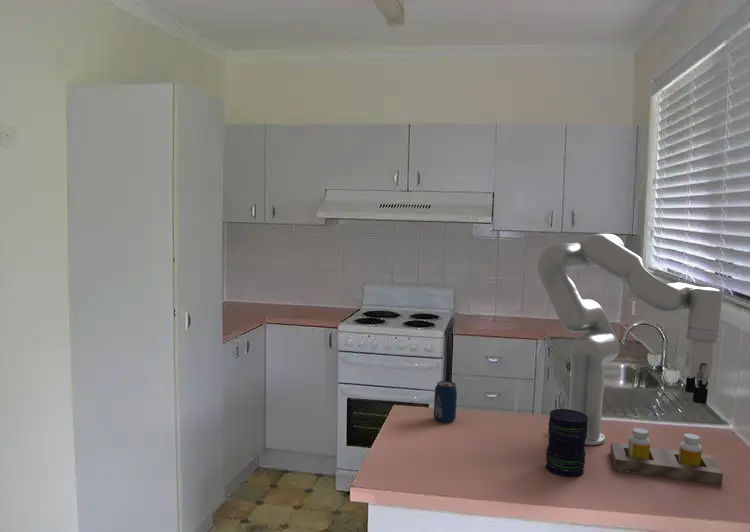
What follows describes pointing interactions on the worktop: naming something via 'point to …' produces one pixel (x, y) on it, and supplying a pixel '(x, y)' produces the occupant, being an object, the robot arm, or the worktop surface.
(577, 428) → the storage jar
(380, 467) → the worktop surface
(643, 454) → the supplement bottle
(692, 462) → the supplement bottle
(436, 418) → the soda can
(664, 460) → the bottle rack
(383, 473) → the worktop surface
